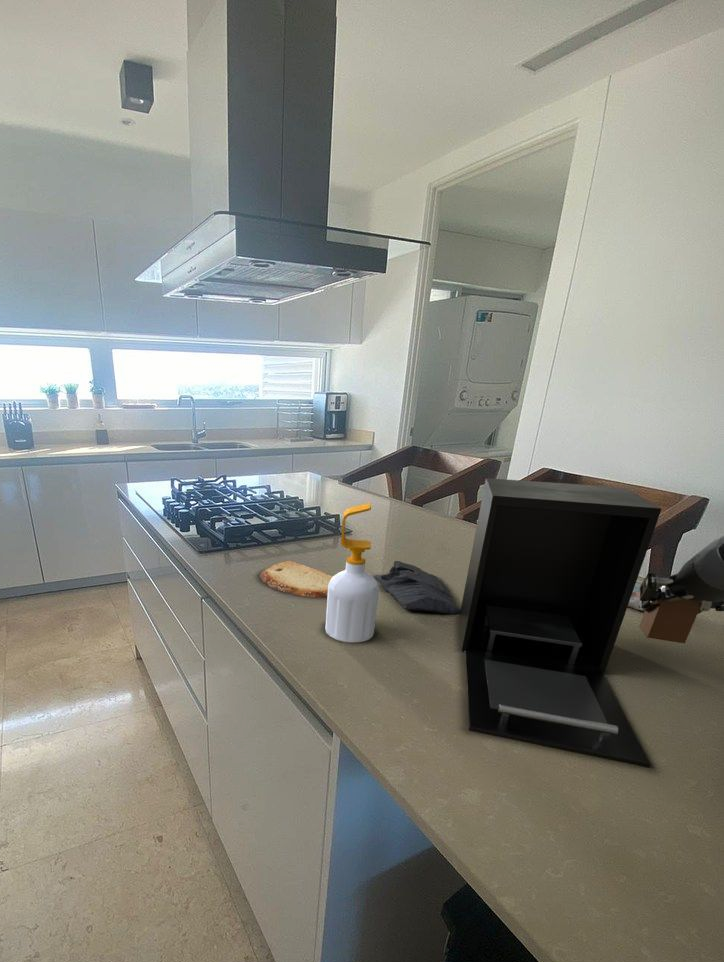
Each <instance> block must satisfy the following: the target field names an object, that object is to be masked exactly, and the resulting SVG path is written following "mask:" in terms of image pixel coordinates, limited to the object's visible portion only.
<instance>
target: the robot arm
mask: <svg viewBox="0 0 724 962" xmlns="http://www.w3.org/2000/svg"><path fill="white" fill-rule="evenodd" d="M661 592H662V595H661V597H659V593H661ZM672 595H673V596H672ZM683 599H685V600H688V599H689V600H693V601H701V603H700V609H699V612H698V614H697V615H699V614H700V613H703V612H708V611H710V610H713V609H714V610H715V612H724V535H722V536H720V537H718V538H716V539H714V540H713V541H712V542H710V543H709V544H708V545H706V546H704V548H702V549H701V550H700V551H699V552H697V553H696V554H695V555H694V556H693V557H691V558H690V559H689V560H687V561H686V562H685V563H684V564H683V565H682V567H681V568H680V570H679V571H678V572H677V573H675V574H671V575H669V576H668V577H659V576H658V574H657V573H656V572H649V573H647V574H646V576H645V577H644V579H643V580H642V582H641V586H640V601H641V608H643V610H642V611H643V612H644V611H647V612H649V611H650V610H652V609H653V608H654V607H656V606H657V605H658V604H660V603H663V602H667V603H672V602H676V601H679V600H683Z"/></svg>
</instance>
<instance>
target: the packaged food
mask: <svg viewBox="0 0 724 962" xmlns="http://www.w3.org/2000/svg"><path fill="white" fill-rule="evenodd" d="M641 584H642V582H638V581H636V584H635V587H634V590H633V593H632V595H631V598H630V601H629V604H628V607H627V608H629V609H633V610H636V611H643V608H641V601H640V586H641Z"/></svg>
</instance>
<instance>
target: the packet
mask: <svg viewBox="0 0 724 962" xmlns="http://www.w3.org/2000/svg"><path fill="white" fill-rule="evenodd" d="M661 595H662V592H661V593H659V597H661ZM672 596H673V595H672ZM700 603H701V601H693V600H689V599H688V600H685V599H683V600H679V601H676V602H672V603H667V602H663V603H660V604H658V605H657V606H656V607H654V608H653V609H652V610H650V611H649V612H647V611H643V614H642V617H641V619H640V622H639V625H638V628H639V629H640V631H641V632H642V633H643V634H644V635H645V636H646V638H647V639H653V640H660V641H666V642H674V643H679V644H686V642H687V639H688V638H689V635H690V633H691V630H692V628H693V626H694V623H695V621H696V618H697V616H698V615H699V614H698V612H699V609H700Z"/></svg>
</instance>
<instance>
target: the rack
mask: <svg viewBox="0 0 724 962" xmlns="http://www.w3.org/2000/svg"><path fill="white" fill-rule="evenodd" d="M483 625H484V626H488V625H489V631H490V637H489V641H488V645H487V650H488V651H492V649H493V644H494V640H495V636H496V634H497V635H504V636H511V637H517V638H524V639H530V640H537V641H544V642H550V643H557V644H563V645H570V646H573V647H572V650H571V653H570V657H569V660H568V662H569V664H574V663H575V660H576V657H577V654H578V651H579V648H580V647H582V643H581V641H580V639H579V637H578V635H577V633H576V631H575V629H574V627H573V625H572V623H571V621H570V619H569V617H568V616H562V615H554V614H547V613H540V612H532V611H525V610H518V609H510V608H503V607H496V606H488V605H486V614H485V619H484V623H483Z"/></svg>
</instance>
